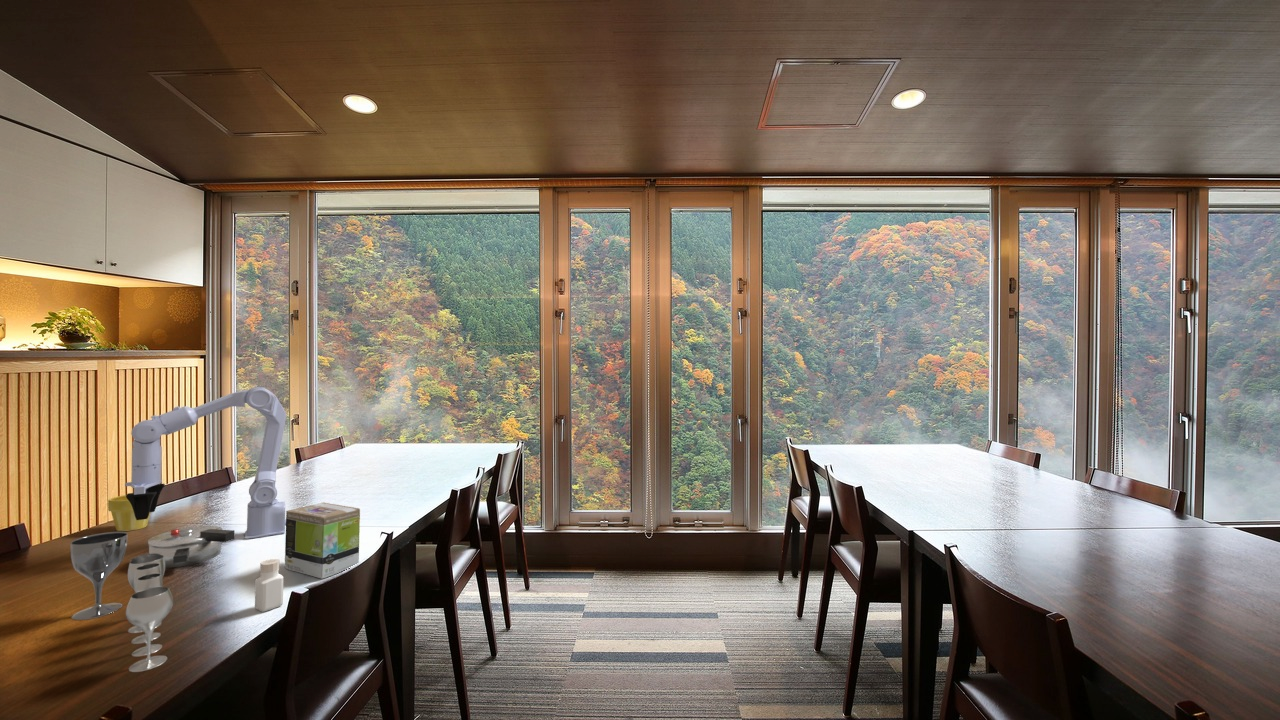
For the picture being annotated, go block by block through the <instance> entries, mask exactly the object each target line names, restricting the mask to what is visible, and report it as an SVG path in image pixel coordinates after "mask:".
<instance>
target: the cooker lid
mask: <svg viewBox="0 0 1280 720" xmlns="http://www.w3.org/2000/svg"><path fill="white" fill-rule="evenodd" d="M233 540H235V530H232V529H231V530H230V529H223V528H222V527H220V526H215V525H200V526H191V527H184V528H176V529H175V528H174V529H171V530H170V531H167V532H162V533H159V534H157V535H154V536H152V537H150V538H149V539H148V540H147V544H148V547H149V546H151V547H176V546H184V545H190V544H195V543H199V542H203V541H216V542H221V543H227V542H230V541H233Z"/></svg>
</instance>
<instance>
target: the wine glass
mask: <svg viewBox="0 0 1280 720" xmlns="http://www.w3.org/2000/svg"><path fill="white" fill-rule="evenodd" d="M127 547H128V532H127V531H108V532H102V533H101V532H100V533H94V534H90V535H86V536H82V537H78V538H77V539H74V540H72V541H71V542H70V559H71V563H72V567H73V569H74V570H75V571H76V572H77V573H78V574H80V575H82V576H83V577H85V578H86V579H88V580H89V581H90V582H91V583H92V585H93V588H94V593H95V594H94V595H95V596H94V597H95V598H94V599H95V601H94V605H93V606H90V607H87V608H85V609H82V610H80V611H77V612H76V613H74V614H73V615H72V616H71V619H72V620H74V621H85V620H86V621H87V620H92V619H97V618H101V617H105V616H108V615H111V614H112V612H113V613H115V612H117V611H119V610H120V609H119V608H121V607H122V608H123V606H124V605H123V604H122V603H119V602H110V603H103V604H102V591H103V586H104V582H105V581H106V580H107V578H108V577H109V575H111V574H112V572H113V571H114V570H115V569H117V568H118V566H120V564H121V563H122V562H123V560H124V557H125V554H126V552H127V551H126V550H127ZM122 608H121V609H122ZM118 609H119V610H118ZM114 611H115V612H114ZM110 613H111V614H110Z"/></svg>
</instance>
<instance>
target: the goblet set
mask: <svg viewBox="0 0 1280 720" xmlns="http://www.w3.org/2000/svg"><path fill="white" fill-rule="evenodd" d="M165 572H166V568H165V559H164V556H163V555H160V554H158V553H153V554H149V553H145V554H141V555H138V556H135V557H133V558H131V559H130V561H129V563H128V567H127V580H128V583H129V586H130V587H131V588H132V589H133V590H134V593H133V594H132V595H131V597H130V598H129V601H128V603H127V606H126V609H125V617H126V620H127V621H128V622H129V623H130V624H132V625H133V626H131V627H129V629H127V632H128V633H130V634H139V633H144V634H141V635H139V636H136V637H134V638H133V639H132V640H131V642H130V643H131V644H132V645H140V644H145V645H144V646H142V647H139V648H137V649H135V650H134V651H132V653H131V656H132V657H135V658H136V657H144V656H146V658H143V659H141V660H138V661H136V662H134V663H133V664H131V665H130V666H129V668H128V671H129V672H131V673H139V672H144V671H149V670H152V669H154V668H157V667H159V666H161V665H163V664H165V662H167V660H168V657H167V656H166V655H153V656H151V654H154V653H156V652H158V651H159V650H161V649H162V648H163V645H162V644H160V643H154V644H153V643H152V641H153V640H156V639H159V637H161V632H154V631H155V629H156V628H158V627H160V626H161V625H162V623H163V622H162V621H163V620H164V619H165V618H166V617H167V616H168V615H169V613H170V612H171V611H172V609H173V605H174V598H173V594H172V592H171V590H170V588H169V587H167V586H163V577H164V575H165Z"/></svg>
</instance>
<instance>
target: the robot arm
mask: <svg viewBox="0 0 1280 720" xmlns="http://www.w3.org/2000/svg"><path fill="white" fill-rule="evenodd" d="M246 405H248V406H249V407H250V408H252V409H254V410H255V411H258V412H260V413H261V414H262V416H263V417H264V418H266V421H265V422H266V423H265V428H264V434H263V438H262V444H261V451H260V455H259V459H258V464H257V465H258V466H257V469H256V470H257V471H256V473H255V477H254V480H253V482H252V484H251V485H250V486H249V488H248V495H250V501H249V502H248V503H247V510H246V511H247V512H246V514H247V515H246V516H247V517H246V530H245V531H244V532H245V534H244V539H245V540H249V539H255V538H261V537H267V536H274V535H275V536H276V535H281V534H286V501H278V499H276V498H277V496H278V490H277V487H276V482H277V481H276V480H277V470H278V469H277V468H278V464H279V457H280V454H281V446H282V442H283V437H284V431H285V425H286V421H287V412H286V411H285V409H284V407H283V405H282V404H281V402H280V401H279V399H278V397H277V395H275V393H273V392H271V391H270V390H269V389H268V388H265V387H262V386H254V387H251V388H249V389H242V390H239V391H235V392H232V393H227V394H226V395H224V396H222V397H219V398H216V399H214V400H211V401H208V402H206V403H204V404H201V405H198V406H196V407H189V406H186V405H183V406H181V407H180V405H179V406H178V405H177V406H175V407H173V408H172V410H170V411H168V412H164V413H162V414H159V415H156V414H154V415H151V416H150V418H151V419H144V420H142V421H139V422H138V423H137V424H135V425H134V426H133V427H132V429H131V433H130V434H131V437H132V438H133V441H132V447H133V448H132V449H131V477H130V478H131V481H130V482H129V481H128V482H125V483H124V487H131V488H133V492H129V493H127V494H125V495H126V498H127V499H128V500H129V502H130V503H131V505H132V508H133V511H134V515H135V518H136V520H143V519H147V518H148V516H149V513H150V512H151V513H154V512H155V511H156V508H157V506H158V502H159V498H160V495H161V493H162V491H163V489H164V487H165V485H166V484H165V483H163V479H162V452H163V450H162V446H161V441H162V440H161V436H164V435H165V436H168V435H171V434H174V433H176V432H179V431H182V430H184V429H187V428H189V427H192V426H195V425H196V424H197V422H198V420H199V419H200V418H203V417H206V416H208V415H211V414H214V413H217V412H220V411H222V410H225V409H228V408H231V407H237V408H239V407H240V408H245V407H246Z"/></svg>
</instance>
